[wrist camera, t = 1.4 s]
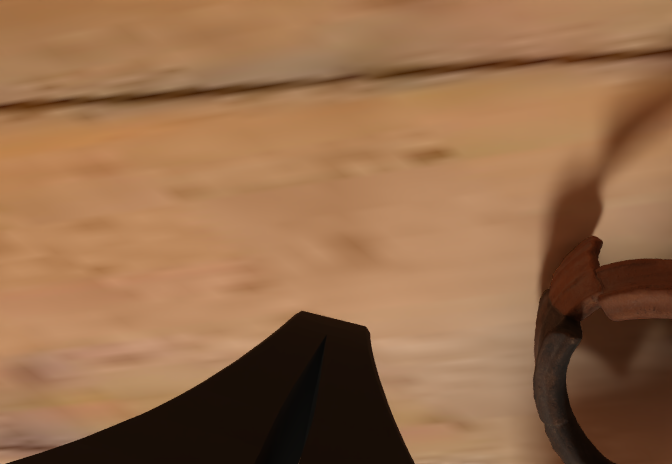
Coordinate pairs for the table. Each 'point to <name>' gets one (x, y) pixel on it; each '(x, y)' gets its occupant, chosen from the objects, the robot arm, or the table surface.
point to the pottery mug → (565, 330)
